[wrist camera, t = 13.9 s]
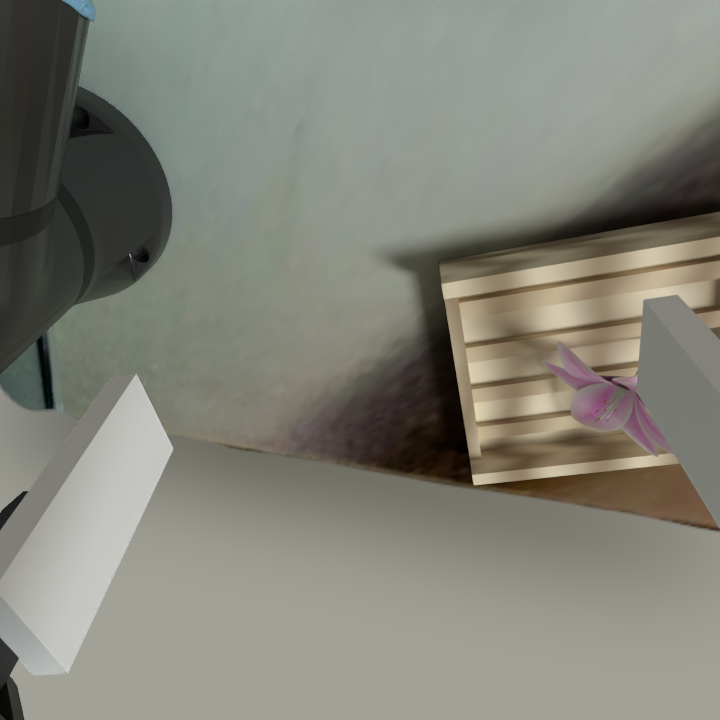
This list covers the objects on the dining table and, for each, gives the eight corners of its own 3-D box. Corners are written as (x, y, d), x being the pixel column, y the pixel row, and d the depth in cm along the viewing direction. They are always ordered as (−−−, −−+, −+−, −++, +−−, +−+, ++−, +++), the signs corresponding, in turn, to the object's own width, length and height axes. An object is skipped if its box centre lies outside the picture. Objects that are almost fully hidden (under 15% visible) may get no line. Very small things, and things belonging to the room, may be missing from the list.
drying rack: (469, 453, 52) (473, 485, 49) (438, 261, 43) (441, 284, 39) (717, 425, 49) (740, 456, 45) (746, 206, 39) (778, 226, 35)
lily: (547, 277, 42) (515, 381, 37) (735, 289, 37) (727, 412, 32) (553, 374, 51) (528, 468, 46) (706, 396, 45) (696, 504, 41)
